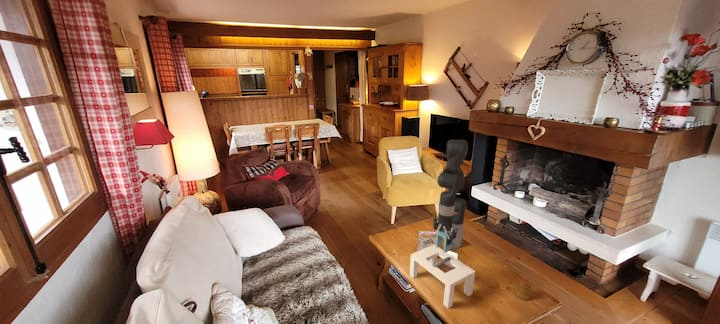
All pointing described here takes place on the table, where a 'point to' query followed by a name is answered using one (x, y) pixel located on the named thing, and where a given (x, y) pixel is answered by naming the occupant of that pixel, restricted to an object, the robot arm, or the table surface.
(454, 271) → the cutout shelf
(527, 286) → the ornamental finial
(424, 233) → the candy bar box
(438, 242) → the teal u-channel bracket
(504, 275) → the table surface
